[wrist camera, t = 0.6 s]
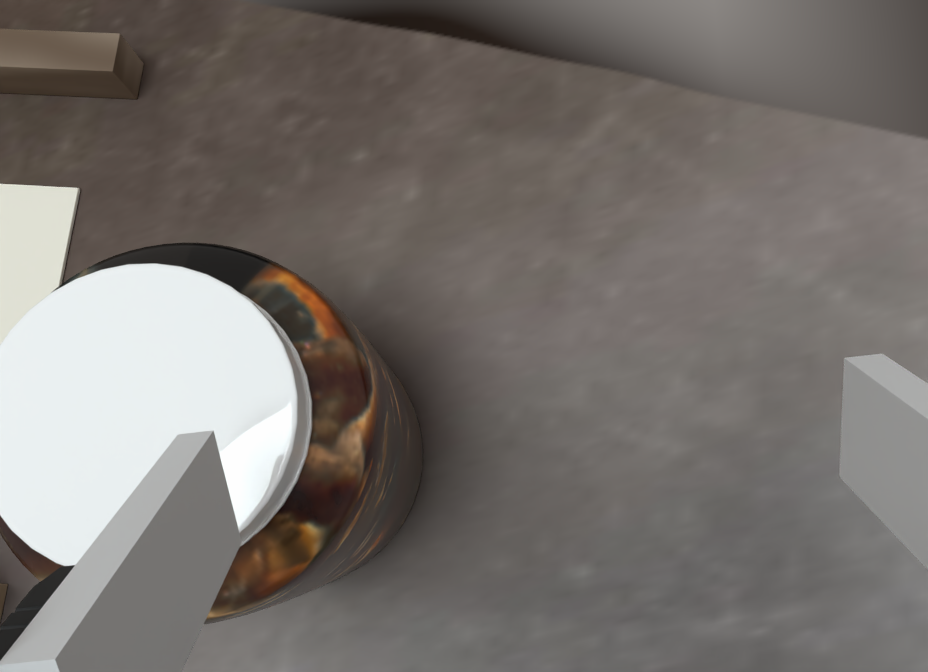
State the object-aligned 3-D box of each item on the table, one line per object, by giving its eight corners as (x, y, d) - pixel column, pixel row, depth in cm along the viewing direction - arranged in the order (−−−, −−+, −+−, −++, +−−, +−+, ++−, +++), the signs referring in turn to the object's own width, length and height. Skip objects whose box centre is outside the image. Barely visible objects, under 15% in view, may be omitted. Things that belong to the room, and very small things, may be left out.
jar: (357, 285, 36) (258, 129, 21) (466, 515, 33) (440, 520, 19) (124, 396, 35) (-145, 315, 20) (217, 640, 32) (-14, 747, 18)
